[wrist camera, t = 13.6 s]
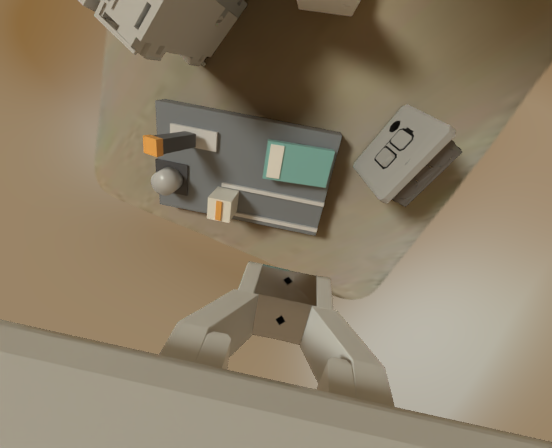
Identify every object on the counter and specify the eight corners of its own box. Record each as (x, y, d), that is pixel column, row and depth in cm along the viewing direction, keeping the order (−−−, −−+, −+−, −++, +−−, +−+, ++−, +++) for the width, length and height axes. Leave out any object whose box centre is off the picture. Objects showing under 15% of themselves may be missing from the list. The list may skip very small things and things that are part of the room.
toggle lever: (184, 129, 34) (142, 135, 28) (196, 133, 33) (156, 139, 28) (184, 144, 35) (144, 152, 29) (196, 148, 34) (156, 157, 29)
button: (159, 164, 37) (150, 169, 35) (182, 169, 37) (174, 174, 35) (160, 186, 38) (151, 192, 36) (182, 191, 38) (175, 197, 36)
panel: (163, 98, 36) (150, 100, 33) (340, 132, 35) (342, 136, 32) (166, 197, 42) (156, 205, 40) (315, 227, 42) (315, 238, 39)
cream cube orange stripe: (217, 186, 38) (207, 197, 34) (239, 190, 38) (230, 202, 34) (216, 206, 39) (206, 219, 35) (237, 210, 39) (228, 223, 35)
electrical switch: (404, 101, 33) (441, 115, 25) (434, 127, 34) (478, 148, 26) (350, 164, 37) (367, 193, 29) (379, 185, 38) (402, 218, 30)
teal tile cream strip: (262, 175, 35) (262, 178, 34) (267, 139, 33) (267, 140, 32) (324, 185, 36) (325, 188, 34) (333, 149, 33) (335, 151, 32)
